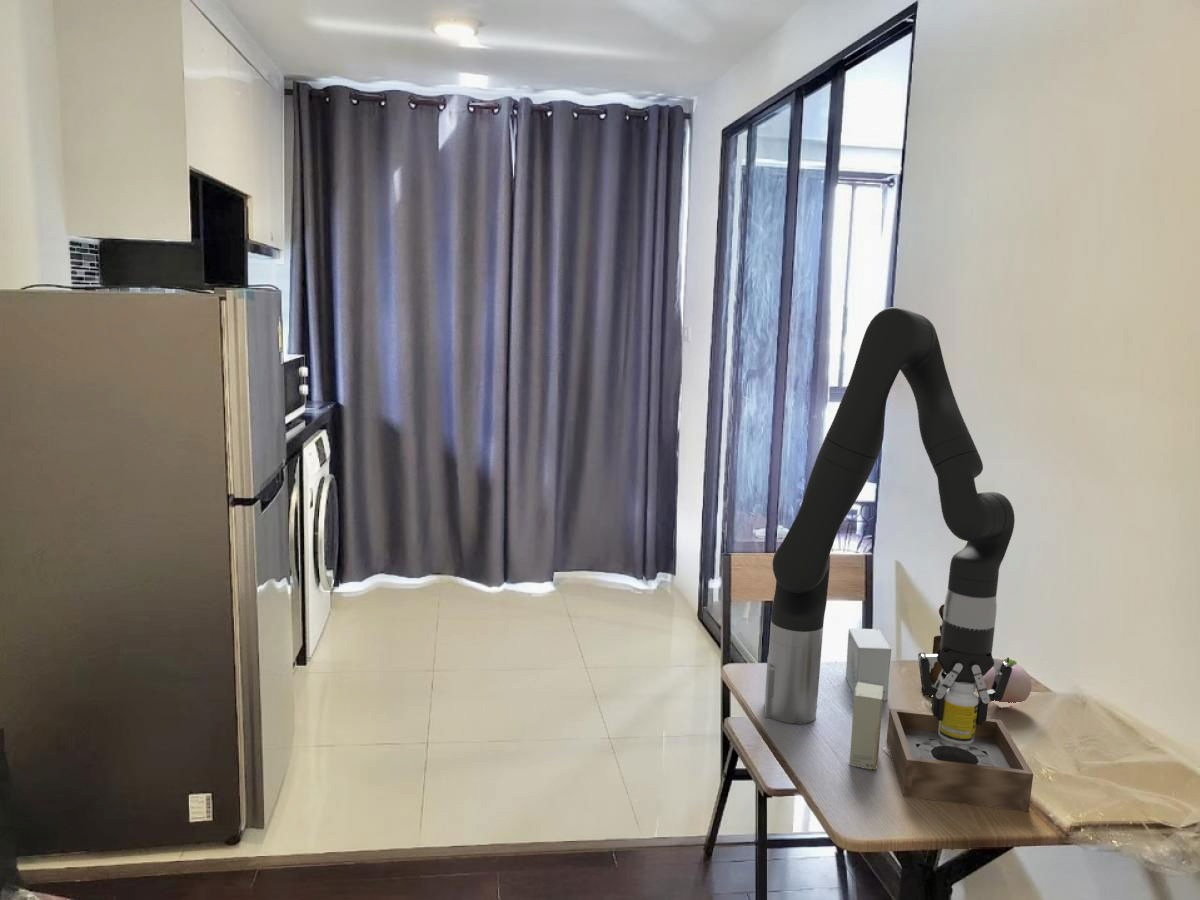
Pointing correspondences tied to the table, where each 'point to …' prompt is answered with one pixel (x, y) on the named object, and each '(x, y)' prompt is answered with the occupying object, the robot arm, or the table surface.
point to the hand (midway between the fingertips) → (958, 720)
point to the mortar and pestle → (936, 645)
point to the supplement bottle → (959, 713)
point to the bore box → (958, 763)
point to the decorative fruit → (1012, 683)
